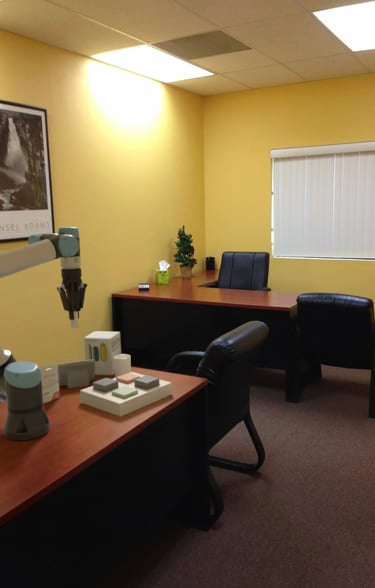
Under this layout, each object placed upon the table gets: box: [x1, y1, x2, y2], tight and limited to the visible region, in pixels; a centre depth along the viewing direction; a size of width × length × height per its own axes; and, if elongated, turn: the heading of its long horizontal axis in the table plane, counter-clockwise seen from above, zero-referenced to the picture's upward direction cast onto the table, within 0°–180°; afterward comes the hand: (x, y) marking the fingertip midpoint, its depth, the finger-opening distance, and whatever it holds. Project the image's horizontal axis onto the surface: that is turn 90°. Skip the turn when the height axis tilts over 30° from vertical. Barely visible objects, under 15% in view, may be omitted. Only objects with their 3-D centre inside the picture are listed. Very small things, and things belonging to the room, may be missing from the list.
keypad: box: [79, 371, 173, 418], centre depth 206 cm, size 28×23×5 cm
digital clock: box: [57, 359, 95, 389], centre depth 224 cm, size 16×9×11 cm, turn 101°
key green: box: [112, 386, 138, 399], centre depth 198 cm, size 7×7×5 cm
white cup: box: [113, 353, 132, 378], centre depth 230 cm, size 8×8×10 cm
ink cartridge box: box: [39, 362, 61, 405], centre depth 206 cm, size 9×5×15 cm, turn 143°
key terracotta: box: [116, 372, 140, 384], centre depth 214 cm, size 7×7×5 cm
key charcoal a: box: [92, 377, 118, 392], centre depth 204 cm, size 7×7×5 cm
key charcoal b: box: [134, 374, 160, 390], centre depth 206 cm, size 7×7×5 cm
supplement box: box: [83, 330, 122, 376], centre depth 241 cm, size 13×13×18 cm
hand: (74, 327), depth 202 cm, fingers closed
